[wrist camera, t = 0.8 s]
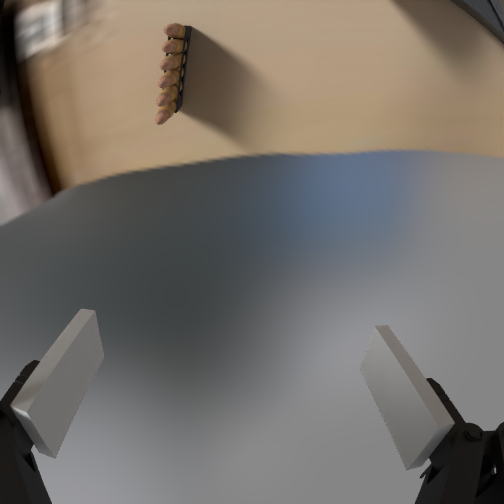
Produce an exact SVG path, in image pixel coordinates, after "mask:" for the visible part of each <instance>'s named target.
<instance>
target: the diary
mask: <svg viewBox="0 0 504 504" xmlns="http://www.w3.org/2000/svg"><path fill="white" fill-rule="evenodd" d="M3 6H4V0H3V1H2V0H0V35H1V20H2V13H3Z"/></svg>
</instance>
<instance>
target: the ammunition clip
mask: <svg viewBox="0 0 504 504" xmlns="http://www.w3.org/2000/svg"><path fill="white" fill-rule="evenodd" d="M191 28H192V27H191V26H183V25H180V24H177V23H174V24H169V25H167V26H166V27H165V28H164V32H165V33H166V34H167V35H168V41H167V42H165V43H164V44H163V45H162V50H163V51H164V52H166V57H165V58H164V59H163V60H162V61H161V63H160V68H161V69H162V70H164V74H163V75H162V76H161V78H160V79H159V81H158V86H159V87H160V88H163V89H162V91H161V92H160V94H159V96H158V98H157V105H158V106H160V108H159V110H158V113H157V115H156V118H155V121H156V123H157V124H158V125H160V124H163V123H165V122H166V121H167V119H168V118H170V117H171V116H172V115H173V113H177V112H178V110H179V109H180V107H181V106H182V98H183V89H184V80H185V71H186V63H187V56H188V48H189V41H190V34H191ZM171 38H173V39H171ZM169 54H171V55H169ZM168 55H169V56H168ZM167 70H168V71H167Z"/></svg>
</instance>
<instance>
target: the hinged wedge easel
mask: <svg viewBox="0 0 504 504" xmlns="http://www.w3.org/2000/svg"><path fill="white" fill-rule="evenodd" d="M490 1H491V3H492V4H493V6H494V8H495V10H496V12H497V14H498V15H499V17H500V19H501V21H502V23H503V25H504V0H490Z"/></svg>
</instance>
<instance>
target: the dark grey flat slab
mask: <svg viewBox="0 0 504 504" xmlns="http://www.w3.org/2000/svg"><path fill="white" fill-rule="evenodd" d="M451 1H452V2H454V3H455V4H456V5H458V6H459V7H461V8H462V9H463V10H465V11H466V12H467V13H469V14H470V15H471V16H472V17H474V18H475V19H476V20H477V21H479V22H480V23H481V24H482V25H484V26H485V27H486V28H487V29H488V30H489V31H491V32H492V33H493V34H494V35H495V36H496V37H497V38H499V39H500V40H501V41H502V42H503V43H504V25H503V23H502V21H501V19H500V17H499V15H498V14H497V12H496V10H495V8H494V6H493V4H492V3H491V1H490V0H451Z"/></svg>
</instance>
